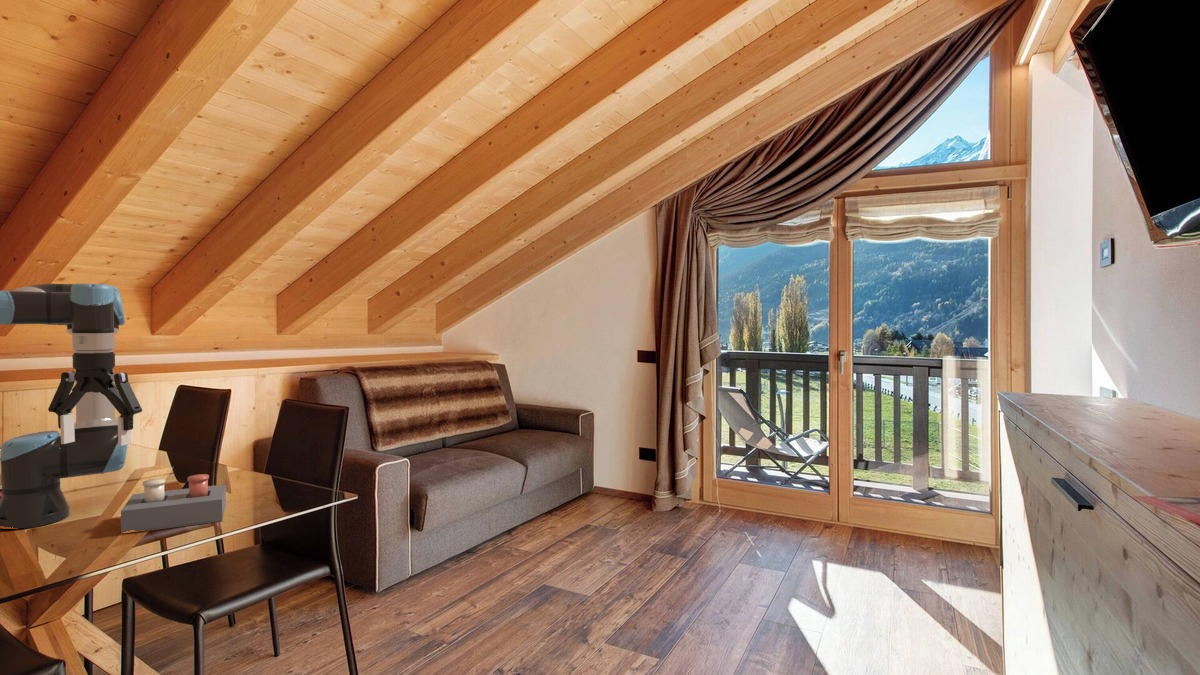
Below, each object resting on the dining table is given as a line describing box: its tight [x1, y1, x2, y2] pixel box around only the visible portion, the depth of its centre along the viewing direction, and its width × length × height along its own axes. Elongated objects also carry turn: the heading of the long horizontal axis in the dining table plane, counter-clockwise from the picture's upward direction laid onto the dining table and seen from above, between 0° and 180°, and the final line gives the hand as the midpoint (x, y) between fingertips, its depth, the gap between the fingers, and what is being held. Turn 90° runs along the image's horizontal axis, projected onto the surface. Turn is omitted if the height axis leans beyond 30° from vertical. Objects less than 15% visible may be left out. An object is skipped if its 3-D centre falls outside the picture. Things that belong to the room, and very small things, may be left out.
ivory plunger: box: [142, 478, 167, 503], centre depth 167 cm, size 5×5×7 cm
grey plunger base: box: [120, 484, 227, 533], centre depth 170 cm, size 16×22×6 cm
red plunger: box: [187, 473, 210, 498], centre depth 172 cm, size 5×5×7 cm
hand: (96, 443), depth 142 cm, fingers open, 13 cm apart
